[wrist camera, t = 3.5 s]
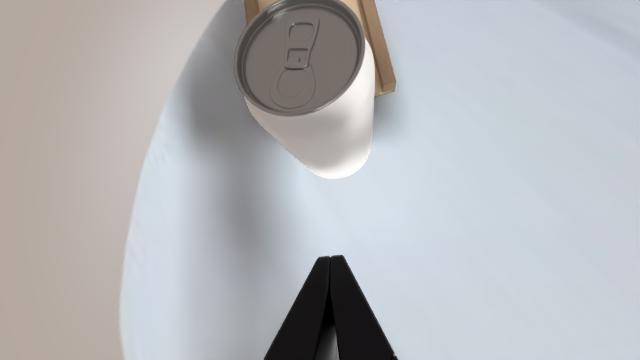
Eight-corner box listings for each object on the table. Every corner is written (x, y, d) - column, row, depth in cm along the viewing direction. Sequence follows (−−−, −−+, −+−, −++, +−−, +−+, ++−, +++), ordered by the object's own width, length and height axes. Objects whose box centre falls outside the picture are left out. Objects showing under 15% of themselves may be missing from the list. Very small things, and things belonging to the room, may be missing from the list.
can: (294, 176, 22) (210, 121, 10) (305, 108, 23) (239, -12, 11) (368, 183, 20) (367, 130, 9) (376, 111, 21) (384, -23, 10)
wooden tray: (394, 91, 21) (396, 81, 20) (266, 124, 23) (259, 117, 22) (361, -34, 24) (360, -50, 23) (250, 4, 26) (243, -9, 25)
